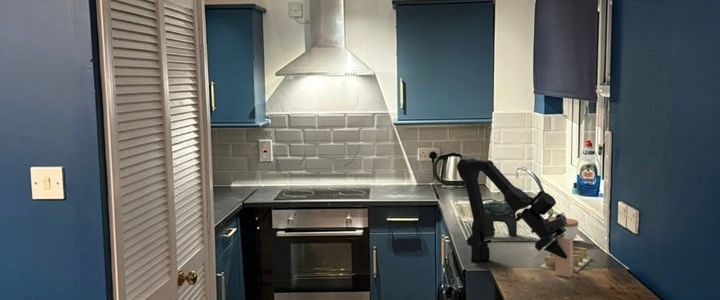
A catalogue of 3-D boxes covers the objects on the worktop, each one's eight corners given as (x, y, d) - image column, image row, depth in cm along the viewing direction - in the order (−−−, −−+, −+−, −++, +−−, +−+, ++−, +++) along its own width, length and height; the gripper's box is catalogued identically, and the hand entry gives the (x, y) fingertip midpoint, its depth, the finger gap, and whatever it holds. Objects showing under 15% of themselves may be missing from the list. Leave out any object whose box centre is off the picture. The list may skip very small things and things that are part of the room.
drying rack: (540, 267, 231) (540, 256, 230) (557, 254, 248) (557, 244, 248) (576, 272, 223) (576, 261, 223) (591, 258, 241) (591, 248, 240)
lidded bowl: (581, 240, 270) (581, 215, 269) (573, 247, 259) (573, 220, 259) (552, 237, 277) (551, 212, 276) (543, 243, 266) (542, 217, 265)
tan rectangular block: (569, 277, 218) (570, 239, 217) (555, 275, 221) (555, 238, 220) (572, 274, 221) (572, 237, 220) (558, 272, 224) (558, 236, 223)
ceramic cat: (518, 234, 286) (518, 190, 284) (521, 237, 280) (521, 192, 278) (474, 234, 288) (473, 190, 286) (475, 237, 281) (475, 193, 280)
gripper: (544, 212, 213) (577, 248, 208) (560, 203, 229) (592, 236, 224) (521, 233, 218) (553, 268, 213) (538, 223, 234) (569, 256, 229)
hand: (568, 256), depth 220 cm, fingers closed on tan rectangular block, 4 cm apart
